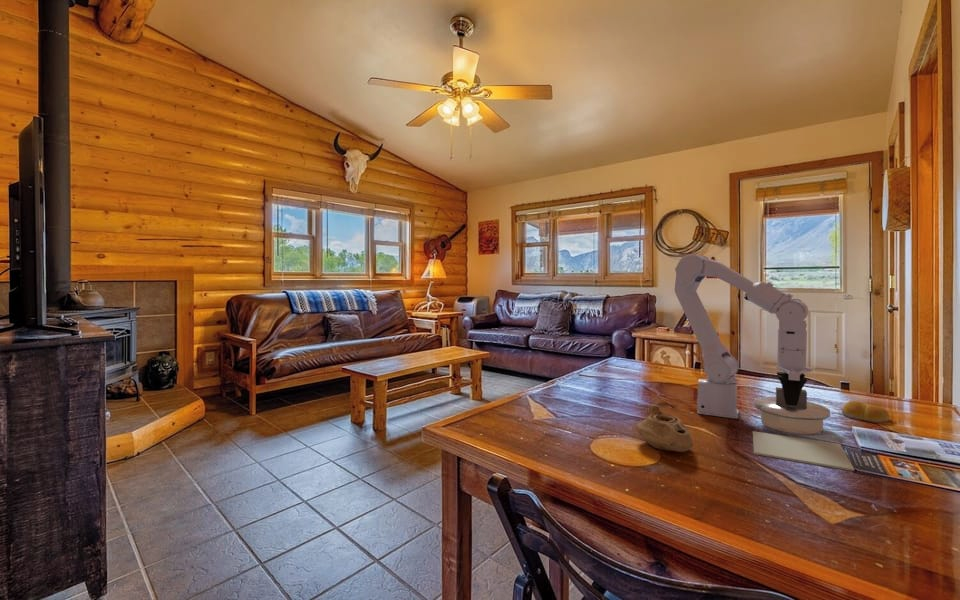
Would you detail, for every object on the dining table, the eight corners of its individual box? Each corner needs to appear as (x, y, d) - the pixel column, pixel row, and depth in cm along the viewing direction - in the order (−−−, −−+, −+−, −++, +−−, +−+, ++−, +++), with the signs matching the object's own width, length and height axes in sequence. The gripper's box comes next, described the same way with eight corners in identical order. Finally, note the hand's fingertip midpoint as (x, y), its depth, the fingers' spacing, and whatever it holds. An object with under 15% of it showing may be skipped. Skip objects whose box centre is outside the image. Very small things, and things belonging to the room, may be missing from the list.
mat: (753, 454, 89) (753, 452, 89) (752, 432, 101) (752, 431, 101) (854, 471, 81) (854, 469, 81) (840, 445, 92) (840, 444, 92)
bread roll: (887, 425, 105) (887, 410, 104) (839, 417, 111) (840, 402, 111) (891, 418, 110) (891, 403, 110) (846, 410, 117) (846, 396, 116)
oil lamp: (671, 465, 84) (671, 426, 84) (625, 438, 99) (625, 404, 98) (715, 458, 87) (715, 420, 87) (664, 433, 102) (664, 400, 101)
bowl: (762, 429, 103) (762, 412, 103) (760, 415, 113) (760, 400, 113) (825, 438, 97) (825, 420, 97) (817, 422, 107) (817, 406, 107)
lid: (755, 413, 102) (755, 393, 102) (753, 398, 115) (754, 380, 115) (835, 423, 95) (835, 401, 94) (824, 406, 107) (824, 386, 107)
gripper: (816, 354, 96) (815, 414, 97) (808, 345, 108) (807, 398, 109) (778, 352, 100) (777, 409, 100) (774, 343, 112) (773, 394, 113)
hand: (790, 403), depth 105 cm, fingers closed on lid, 2 cm apart
